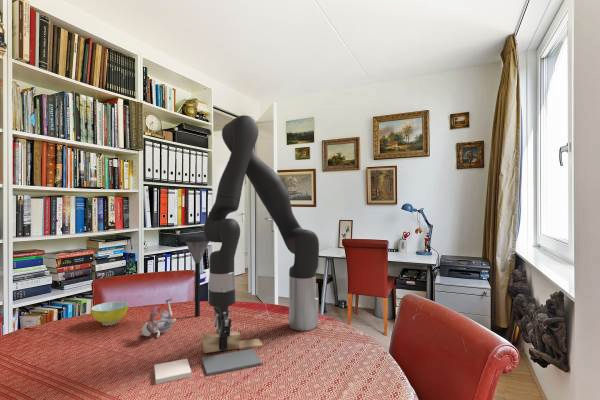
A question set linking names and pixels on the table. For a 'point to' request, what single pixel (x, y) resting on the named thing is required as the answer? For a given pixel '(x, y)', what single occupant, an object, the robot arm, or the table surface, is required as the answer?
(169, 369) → the tile
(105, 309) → the bowl
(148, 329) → the figurine
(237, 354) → the mat
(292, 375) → the table surface
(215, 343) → the beige wooden bar
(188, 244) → the solar garden light
